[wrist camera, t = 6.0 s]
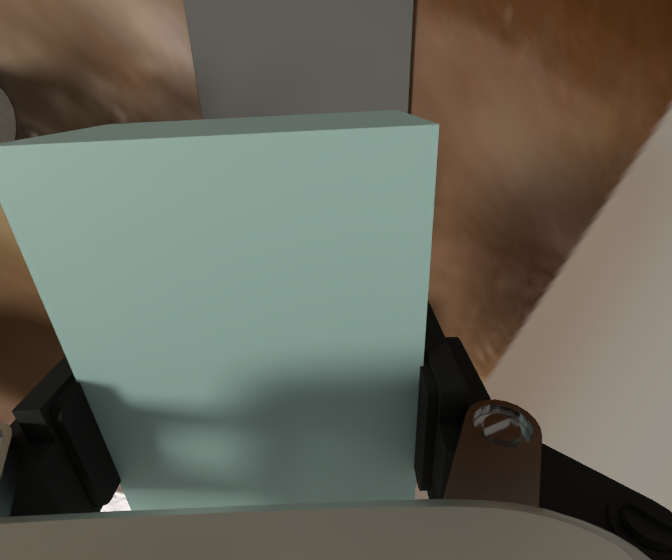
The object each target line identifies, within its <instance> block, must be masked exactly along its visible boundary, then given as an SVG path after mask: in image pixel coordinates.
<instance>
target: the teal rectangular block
mask: <svg viewBox="0 0 672 560" xmlns="http://www.w3.org/2000/svg"><path fill="white" fill-rule="evenodd" d="M438 136H439V124H437V123H434V122H431V121H428V120H425V119H422V118H419V117H417V116H414V115H411V114H408V113H405V112H402V111H399V110H385V111H364V112H344V113H324V114H304V115H284V116H264V117H244V118H223V119H203V120H183V121H163V122H143V123H123V124H107V125H101V126H95V127H90V128H84V129H78V130H73V131H67V132H61V133H55V134H50V135H44V136H38V137H33V138H27V139H21V140H16V141H10V142H4V143H0V203H1V205H2V208H3V210H4V212H5V215H6V217H7V219H8V222H9V224H10V226H11V229H12V231H13V233H14V236H15V238H16V240H17V243H18V245H19V247H20V250H21V252H22V255H23V257H24V259H25V262H26V264H27V266H28V269H29V271H30V273H31V276H32V278H33V280H34V283H35V285H36V287H37V290H38V292H39V294H40V297H41V299H42V301H43V304H44V306H45V308H46V311H47V313H48V316H49V318H50V320H51V323H52V325H53V327H54V330H55V332H56V334H57V337H58V339H59V341H60V344H61V346H62V348H63V351H64V353H65V355H66V358H67V360H68V362H69V365H70V367H71V369H72V372H73V374H74V377H75V379H76V381H77V382H80V384H81V386H82V389H83V391H84V393H85V396H86V398H87V400H88V403H89V405H90V408H91V410H92V412H93V415H94V417H95V419H96V422H97V424H98V427H99V429H100V431H101V434H102V436H103V438H104V441H105V443H106V445H107V448H108V450H109V453H110V455H111V457H112V460H113V462H114V464H115V467H116V469H117V472H118V474H119V476H120V479H121V482H120V484H121V487H122V489H123V491H124V494H125V496H126V499H127V501H128V503H129V506H130V508H131V510H132V511H135V510H157V509H178V508H201V507H223V506H246V505H271V504H296V503H322V502H347V501H375V500H415V485H416V474H415V470H414V458H415V441H416V425H417V409H418V392H419V376H420V366H423V364H424V349H425V333H426V318H427V303H428V288H429V272H430V257H431V242H432V227H433V212H434V196H435V181H436V166H437V151H438Z"/></svg>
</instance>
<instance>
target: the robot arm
mask: <svg viewBox="0 0 672 560" xmlns="http://www.w3.org/2000/svg"><path fill="white" fill-rule="evenodd" d="M12 412H13V414H14V416H15V418H16V420H15V421H14V422H13V423H12V424H11V425H10V426H9V425H8V424H5V423H1V422H0V560H672V512H671V511H669V510H668V509H666V508H665V507H663V506H661V505H660V504H658V503H657V502H655V501H653V500H651V499H649V498H647V497H646V496H644V495H642V494H640V493H638V492H636V491H634V490H632V489H630V488H628V487H626V486H624V485H622V484H620V483H618V482H616V481H615V480H613V479H611V478H609V477H607V476H605V475H603V474H601V473H599V472H597V471H595V470H593V469H591V468H589V467H587V466H585V465H583V464H581V463H579V462H578V461H576V460H574V459H572V458H570V457H568V456H566V455H564V454H562V453H560V452H558V451H556V450H554V449H552V448H550V447H549V446H546V445H545V444H543V443H542V433H541V428H540V426H539V425H538V423H537V421H536V420H535V418H533V417H532V416H531V415H530V414H529V413H528V412H527V411H525V410H524V409H522V408H520V407H519V406H517V405H514V404H512V403H509V402H506V401H500V400H491V399H490V397H489V395H488V393H487V391H486V389H485V387H484V385H483V383H482V381H481V379H480V377H479V375H478V373H477V371H476V370H475V368H474V366H473V364H472V362H471V360H470V358H469V356H468V354H467V352H466V350H465V348H464V346H463V344H462V342H461V341H460V339H459V338H458V337H445V336H444V334H443V332H442V330H441V327H440V325H439V323H438V321H437V319H436V317H435V314H434V312H433V310H432V308H431V306H430V304H429V301H428V303H427V318H426V333H425V349H424V364H423V366H420V376H419V392H418V409H417V425H416V441H415V458H414V470H415V474H416V479H417V483H418V487H419V490H420V491H427V492H428V496H429V499H420V500H375V501H347V502H322V503H296V504H271V505H246V506H223V507H201V508H178V509H157V510H135V511H113V512H100V510H101V508H102V506H103V505H106V504H108V503H109V502H110V501H111V499H112V497H113V495H114V493H115V491H116V490H117V488H118V486H119V484H120V482H121V479H120V476H119V474H118V472H117V469H116V467H115V464H114V462H113V460H112V457H111V455H110V453H109V450H108V448H107V445H106V443H105V441H104V438H103V436H102V434H101V431H100V429H99V427H98V424H97V422H96V419H95V417H94V415H93V412H92V410H91V408H90V405H89V403H88V400H87V398H86V396H85V393H84V391H83V389H82V386H81V384H80V382H77V381H76V379H75V377H74V374H73V372H72V369H71V367H70V365H69V362H68V360H67V358H66V356H65V357H64V358H63V359H62V360H61V361H60V362H59V363H58V364H57V365H56V366H55V367H54V368H53V369H52V370H51V371H50V372H49V373H48V374H47V375H46V376H45V377H44V379H43V380H42V381H41V382H40V383H39V384H38V385H37V386H36V387H35V388H34V389H33V390H32V391H31V392H30V393H29V394H28V395H27V396H26V397H25V398H24V399H23V400H22V401H21V402H20V403H19V404H18V405H17V406H16V407H15V408H14V409H13V410H12Z"/></svg>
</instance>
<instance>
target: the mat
mask: <svg viewBox="0 0 672 560" xmlns="http://www.w3.org/2000/svg"><path fill="white" fill-rule="evenodd" d="M183 1H184V7H185V13H186V19H187V25H188V31H189V38H190V44H191V50H192V56H193V62H194V69H195V75H196V81H197V87H198V93H199V99H200V106H201V112H202V118H203V119H223V118H244V117H264V116H284V115H304V114H324V113H344V112H364V111H385V110H399V111H402V112H405V113H408V99H409V80H410V60H411V41H412V21H413V1H414V0H183Z"/></svg>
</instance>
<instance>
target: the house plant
mask: <svg viewBox="0 0 672 560" xmlns="http://www.w3.org/2000/svg"><path fill="white" fill-rule="evenodd" d="M15 135H16V119H15V114H14V108H13V106H12V104H11V102H10V101H9V99H8V97H7V95H6V94H5V93H4V91H3V90H2V89H1V88H0V143H4V142H10V141H15Z"/></svg>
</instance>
